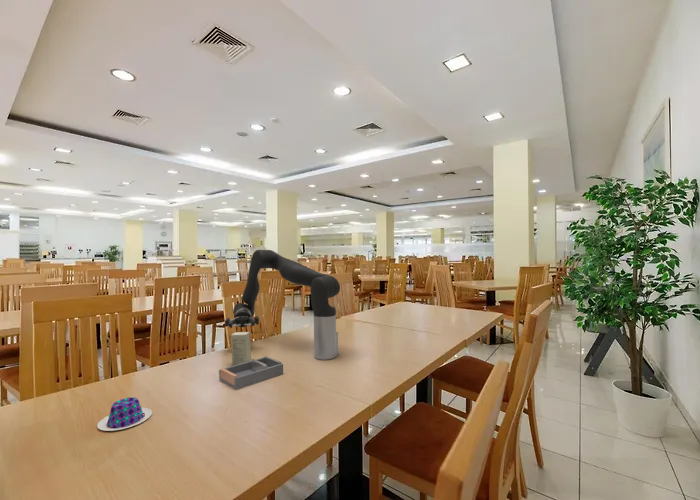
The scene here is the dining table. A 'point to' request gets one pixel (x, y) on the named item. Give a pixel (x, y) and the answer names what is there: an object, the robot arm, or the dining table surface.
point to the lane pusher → (257, 365)
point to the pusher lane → (250, 373)
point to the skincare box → (240, 347)
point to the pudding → (124, 415)
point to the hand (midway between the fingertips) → (241, 324)
